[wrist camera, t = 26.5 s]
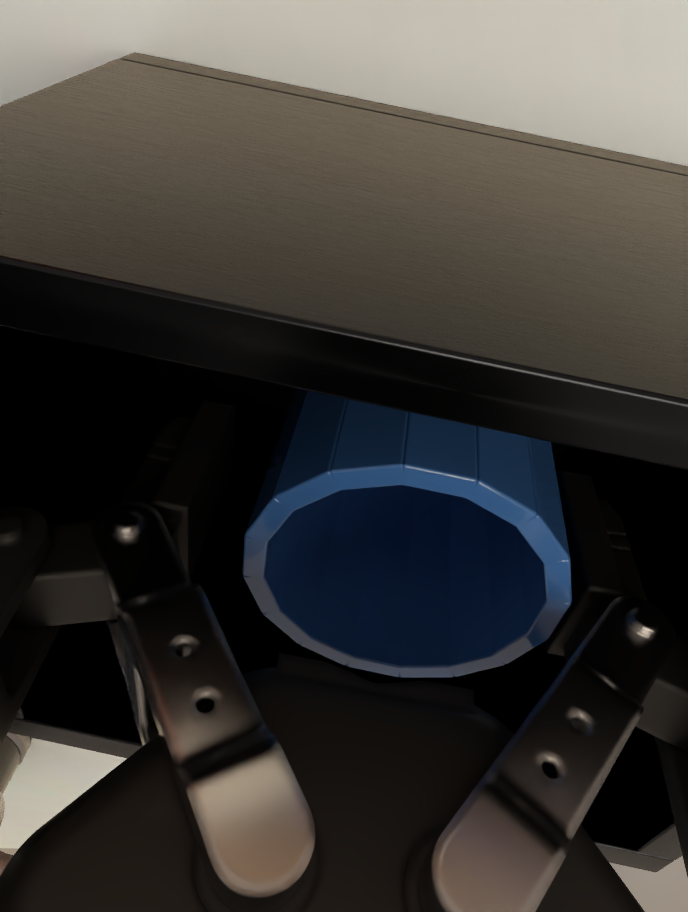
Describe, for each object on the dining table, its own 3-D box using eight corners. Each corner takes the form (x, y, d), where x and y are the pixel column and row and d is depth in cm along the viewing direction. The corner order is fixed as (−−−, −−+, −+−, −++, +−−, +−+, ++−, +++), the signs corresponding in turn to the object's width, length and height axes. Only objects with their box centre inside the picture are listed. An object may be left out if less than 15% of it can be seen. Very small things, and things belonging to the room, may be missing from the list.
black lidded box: (806, 190, 14) (1217, 513, 7) (588, 541, 23) (656, 873, 15) (132, 51, 15) (-253, 205, 7) (156, 449, 23) (-7, 730, 15)
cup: (494, 461, 20) (508, 702, 14) (305, 422, 20) (236, 644, 14) (566, 284, 16) (633, 512, 10) (331, 236, 16) (250, 432, 10)
